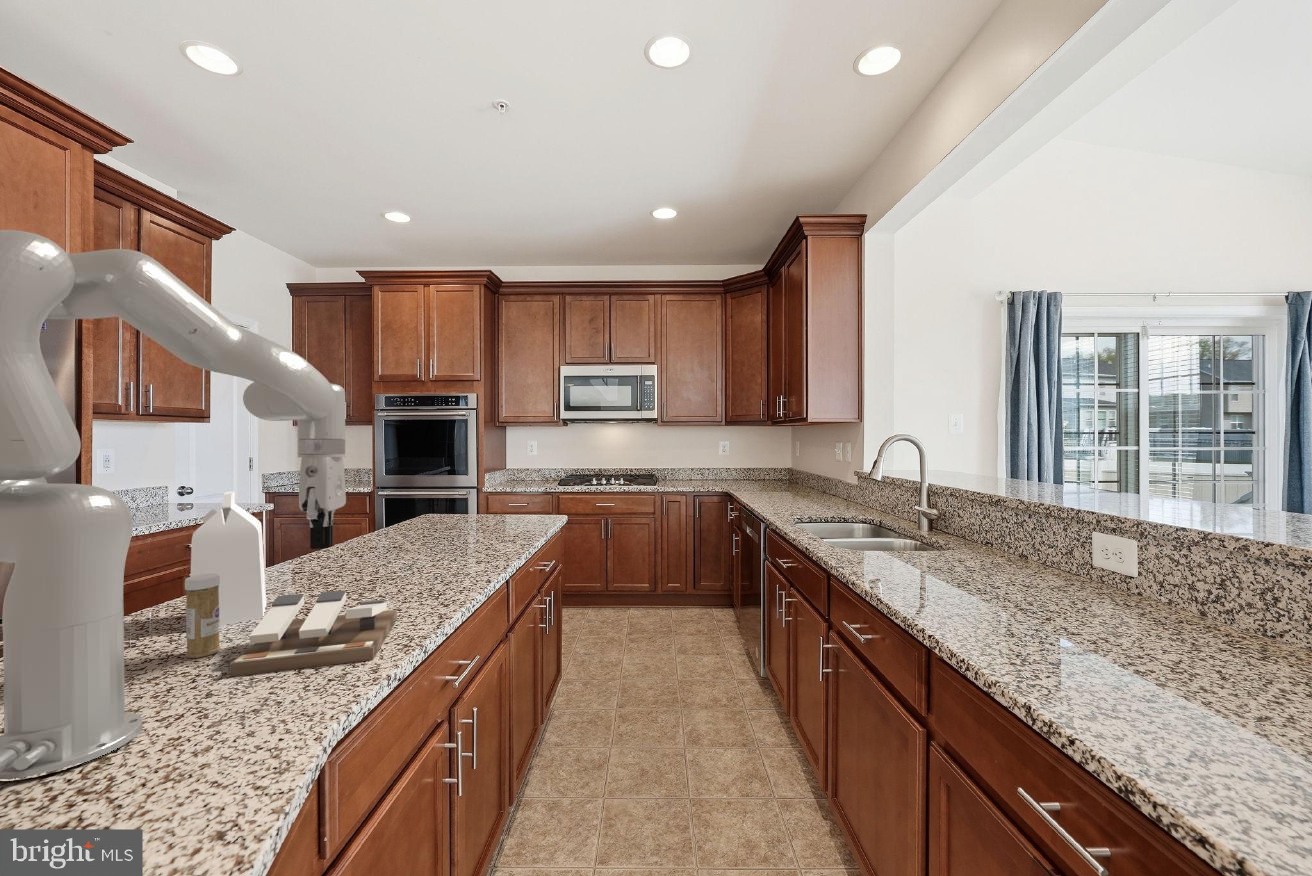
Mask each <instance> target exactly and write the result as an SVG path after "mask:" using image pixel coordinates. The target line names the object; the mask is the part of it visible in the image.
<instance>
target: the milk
mask: <svg viewBox="0 0 1312 876" xmlns="http://www.w3.org/2000/svg"><path fill="white" fill-rule="evenodd" d="M235 494H236V493H235V491H226V492H224V493H223V494H222V505H221V508H220V509H219V510H215V509H214V508H212V509H210V510H209V512H207V513H206V514H205V515H204V516H203V517H202V518H201V519H200V520H201V521H202V522H204V523H202V524H201V525H200V526H199V527H198V528H197V529H196V530H195V531H194V532H192V537H191V547H190V549H191V551H190V552H191V553H190V576H189V577H191V576H195V575H200V574H209V573H216V574H219V575H220V584H219V588H218V590H219V617H220V627H223V626H222V625H226V624H232V623H238V624H240V623H239V622H242V621H249V620H252V619H259V618H263V616H265V614H264V612H265V613H266V609H265V607H266V608H267V593H266V590H267V588H266V576H265V559H264V557H265V555H264V541H263V540H264V539H263V526H262V522H261V521H260V520H259V519H258V518H256V517H255V516H254V515H252V514H251V513H250V512H248V511H246V510H245V509H244V508H242V507H240V506H239V505H238V504H236V497H235V496H236V495H235ZM232 625H233V624H232ZM226 626H227V625H226Z"/></svg>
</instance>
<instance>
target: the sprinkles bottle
mask: <svg viewBox="0 0 1312 876" xmlns="http://www.w3.org/2000/svg"><path fill="white" fill-rule="evenodd" d="M190 576H191V575H190ZM190 576H189V577H186V578H185V579H184V590H185V592H186V593H185V595H186V599H185V600H186V604H185V605H186V606H185V607H186V608H185V629H186V630H185V631H186V633H185V636H186V637H185V638H186V654H185V657H187V658H189V659H196V658H205V657H208V656H211V655H214V654H216V653H217V652H219V651H220V650H221V645H220V629H221V628H220V627H221V626H220V617H219V590H218V588H219V584H220V575H219V574H216V573H209V574H200V575H195V576H191V577H190Z"/></svg>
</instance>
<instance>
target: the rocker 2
mask: <svg viewBox="0 0 1312 876" xmlns="http://www.w3.org/2000/svg"><path fill="white" fill-rule="evenodd" d="M387 607H388V599H379V600H368V601H362V602H359V605H357V606H354V607H351V608H347V609H345V615H346V619H351V618H362V617H372V616H374V615H376V614H378V613H380V612H383V611H388V608H387Z"/></svg>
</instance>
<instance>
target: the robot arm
mask: <svg viewBox="0 0 1312 876" xmlns="http://www.w3.org/2000/svg"><path fill="white" fill-rule="evenodd" d="M106 318H107V319H108V318H119V319H121V320H123V321H124V322H126V323H127V324H129V326H131V327H133V328H135V329H136V330H138V331H139V332H141V333H142V334H144V335H145V336H146V337H148V338H150V339H151V340H152V341H154V342H156V343H157V344H158V345H160V346H161V347H163V348H164V349H165V350H167V351H168V352H170V353H171V354H173V356H176V358H178V359H180V360H181V361H182V362H184V363H186V364H188V365H190V366H194V367H196V368H199V369H202V370H206V371H210V372H213V373H217V374H223V375H229V376H232V377H237V378H242V379H245V380H247V381H251V383H250V384H249V385H247V387H246V388H245V389H244V392H243V395H242V402H243V406H244V407H245V409H246V410H247V411H248V412H249V413H250V414H251V415H252V416H254V417H256V418H258V419H261V420H264V421H269V422H282V421H286V422H289V421H297V458H301V459H300V460H301V461H300V468H299V469H300V470H299V480H298V481H299V484H298V504H299V505H298V506H299V509H300V510H301V511H302V512H305V513H306V515H305V516H306V519H307V520H308V521H309V529H310V530H309V533H310V534H309V536H310V539H309V541H310V542H309V544H310V546H309V547H310V548H309V549H311V550H317V549H318V550H319V549H322V550H323V549H329V548H332V547H333V546H334V532H333V531H334V515H335V512H336V510H338V509H340V508H343V507H345V505H346V503H347V495H346V494H347V493H346V474H345V464H344V460H343V459H344V458H345V457H346V391H345V389H344V388H343V386H341V385H339V384H336V383H331V382H329V380H328V379H327V378H326V377H325V376H324V375H323V374H322V373H321V372H320V371H319V370H318V369H316V368H315V367H314V366H313V365H312V364H311V363H309V361H307V359H305V358H303V356H300V355H299V354H298V353H296V352H294V351H293V350H291V349H289V348H288V347H285V346H283V345H281V344H279V343H276V342H274V341H273V340H270V339H268V338H266V337H264V336H262V335H259V334H258V333H256V332H253V331H252V330H249V329H246V328H244V327H241V326H239V325H237V324H236V323H234V322H233V321H232V320H230V319H229V318H227V317H226V316H225V315H224V314H223V313H221V312H220V311H219V310H217V308H216V307H214V306H213V305H212V304H210V303H209V302H208V301H207V300H205V298H203V297H201V296H200V295H199V294H198V293H197V292H195V291H194V290H193V289H192V288H191V287H189V286H188V285H187V284H186V283H185V282H183V281H182V280H181V279H179V278H178V277H177V276H176V275H174V273H172V272H171V271H170V270H169V269H168V268H166V267H165V266H164V265H162V264H161V263H160V262H159V261H158V260H156V259H154V258H153V257H152V256H150V255H147V254H145V253H143V252H141V251H138V250H133V249H127V248H126V249H125V248H109V249H100V250H93V251H83V252H77V253H76V252H74V253H67V252H66V251H65V250H64V249H63V248H62V247H61V246H60V245H58V244H57V242H54V241H52V240H51V239H49V238H47V237H45V236H42V235H40V234H37V233H35V232H30V231H29V232H28V231H24V230H17V229H16V230H15V229H0V563H12V564H13V563H14V568H13V570H12V571H13V572H12V574H11V577H10V579H9V582H8V585H7V588H6V590H5V595H4V599H3V603H2V617H1V618H2V620H1V623H2V626H1V627H2V628H1V629H2V643H3V644H2V647H3V648H2V650H3V652H2V657H3V659H2V663H3V664H2V665H3V727H4V728H3V731H4V732H3V733H4V734H3V735H1V736H0V779H13V778H14V779H16V778H24V777H26V776H33V775H35V774H41V773H44V772H50V771H54V770H56V769H61V768H64V767H68V766H70V765H75V764H77V763H82V762H87V761H88V760H92V759H94V758H97V757H99V756H101V757H103V756H102V755H104V756H105V754H106V755H108V754H110V753H112V752H114V751H116V750H117V748H118V749H119V748H121V747H123V746H124V745H126V744H127V743H129V742H131V741H132V740H133V739H134V738H135V737H137V735H138V734H140V732H141V731H142V729H143V718H142V716H141V715H140V714H137V713H135V712H130V711H126V710H125V709H126V708H125V707H126V703H125V701H126V699H125V698H126V697H125V696H126V695H125V692H126V691H125V688H126V687H125V619H124V617H125V614H124V611H125V609H124V581H125V580H124V579H125V577H124V576H125V567H126V561H127V555H128V552H129V549H130V548H129V547H130V543H131V540H132V534H133V529H134V526H133V525H134V522H133V521H134V520H133V515H132V512H131V509H130V508H129V506H128V505H127V503H126V502H125V501H124V500H123V499H122V498H121V497H120V496H119V495H117V494H115V493H114V492H113V491H110V490H108V489H105V488H102V487H99V486H95V485H90V484H80V483H48V481H47V479H46V477H51V476H54V475H56V474H59V473H62V472H64V471H65V470H67V469H68V468H69V467H71V466H72V465H73V464H74V463H75V462H76V460H77V459H78V457H79V455H80V452H81V445H82V444H81V443H82V442H81V438H80V435H79V431H78V429H77V428H76V426H75V423H74V421H73V419H72V417H71V415H70V412H69V411H68V409H67V407H66V404H65V403H64V401H63V399H62V397H61V395H60V393H59V390H58V389H57V386H56V385H55V384H56V383H55V382H54V380H53V378H52V375H51V374H50V371H49V369H48V367H47V365H46V362H45V360H44V357H43V353H42V350H41V342H40V337H41V331H42V328H43V324H44V322H45V321H46V320H89V319H90V320H91V319H97V320H98V319H106ZM343 457H344V458H343ZM113 750H114V751H113ZM111 751H112V752H111ZM107 753H108V754H107ZM99 758H100V757H99ZM97 759H98V758H97ZM92 761H93V760H92ZM87 763H88V762H87Z"/></svg>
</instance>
